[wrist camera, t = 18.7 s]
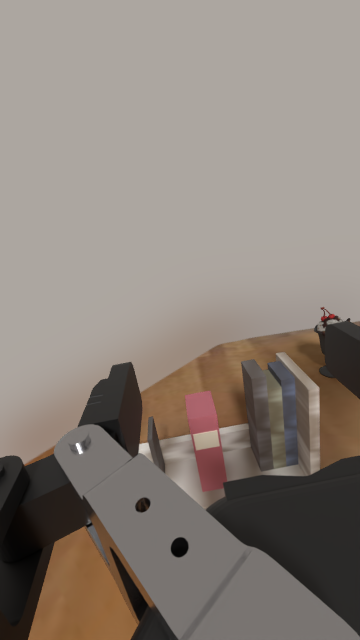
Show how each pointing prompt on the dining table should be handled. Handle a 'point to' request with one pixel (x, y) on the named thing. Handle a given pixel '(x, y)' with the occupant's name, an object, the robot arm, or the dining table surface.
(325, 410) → the dining table surface
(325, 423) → the dining table surface
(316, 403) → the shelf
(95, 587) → the dining table surface
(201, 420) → the book
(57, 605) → the dining table surface
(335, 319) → the sundae
